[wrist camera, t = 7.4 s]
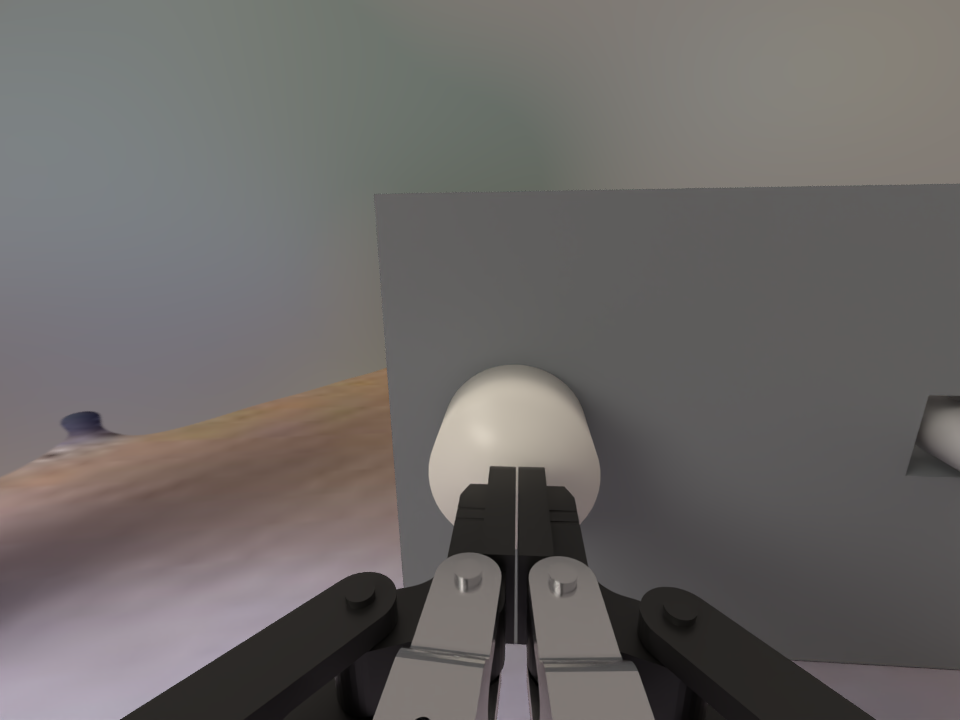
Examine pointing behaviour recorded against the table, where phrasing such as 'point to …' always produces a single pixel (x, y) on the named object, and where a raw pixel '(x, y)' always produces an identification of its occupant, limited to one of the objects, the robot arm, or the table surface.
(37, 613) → the table surface
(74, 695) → the table surface
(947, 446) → the terracotta knob
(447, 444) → the cream knob
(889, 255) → the knob mount
